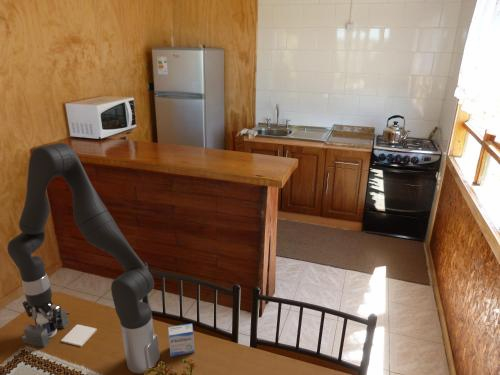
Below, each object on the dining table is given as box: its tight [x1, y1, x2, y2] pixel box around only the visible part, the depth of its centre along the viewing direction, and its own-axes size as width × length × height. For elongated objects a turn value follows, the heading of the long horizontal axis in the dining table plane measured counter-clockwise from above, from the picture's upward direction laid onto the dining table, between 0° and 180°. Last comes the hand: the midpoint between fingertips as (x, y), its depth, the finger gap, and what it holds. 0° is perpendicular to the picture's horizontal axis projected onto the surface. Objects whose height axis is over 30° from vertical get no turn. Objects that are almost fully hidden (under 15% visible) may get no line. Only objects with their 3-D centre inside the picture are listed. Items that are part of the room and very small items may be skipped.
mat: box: [60, 324, 98, 347], centre depth 129 cm, size 8×8×1 cm
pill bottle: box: [36, 312, 58, 339], centre depth 129 cm, size 5×5×10 cm
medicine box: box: [167, 323, 196, 357], centre depth 122 cm, size 8×4×9 cm, turn 104°
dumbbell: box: [21, 309, 70, 349], centre depth 131 cm, size 9×14×6 cm, turn 164°
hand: (47, 327), depth 130 cm, fingers closed on pill bottle, 5 cm apart
